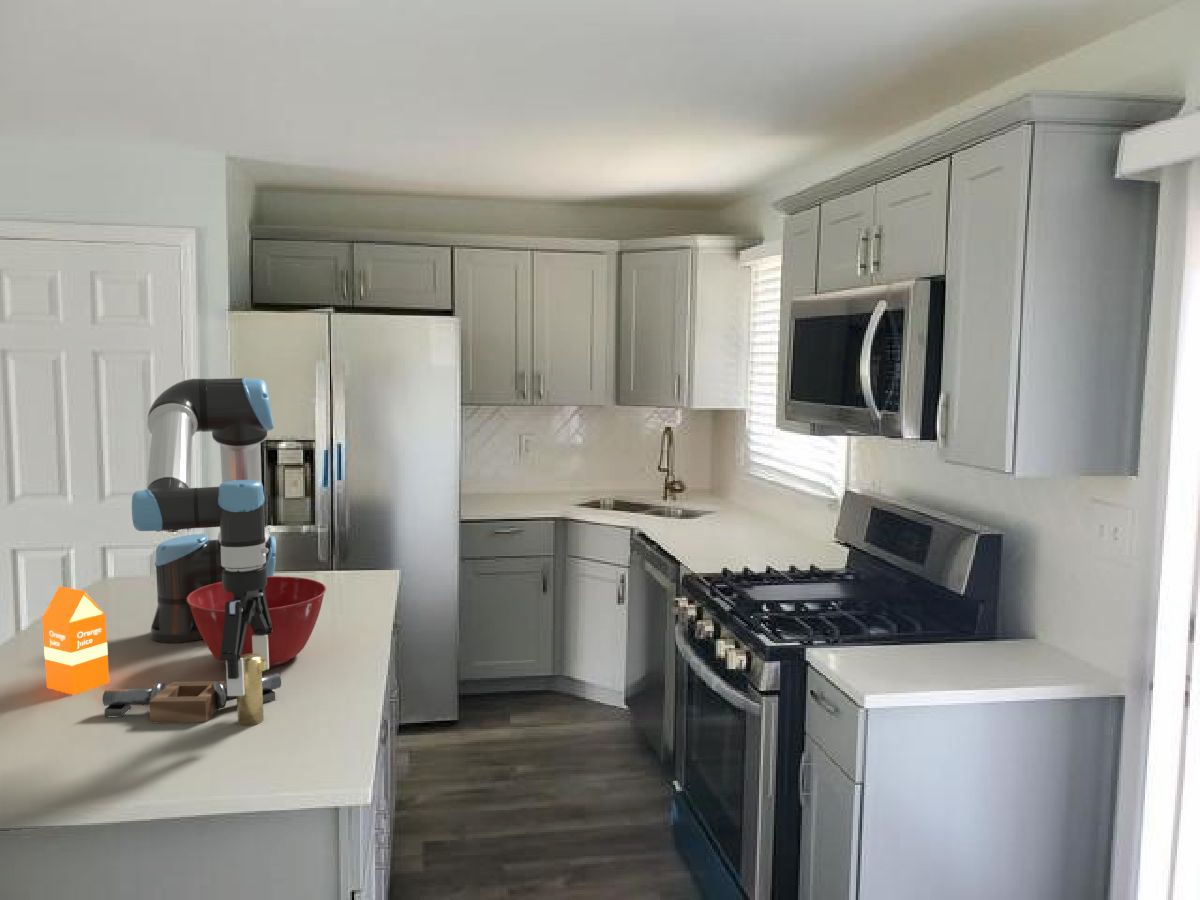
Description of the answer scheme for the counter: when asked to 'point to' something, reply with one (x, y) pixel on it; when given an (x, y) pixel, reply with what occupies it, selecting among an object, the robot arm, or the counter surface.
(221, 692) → the shaft
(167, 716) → the coupling block
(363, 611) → the counter surface
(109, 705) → the shaft
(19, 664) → the counter surface
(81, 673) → the orange juice
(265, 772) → the counter surface
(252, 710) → the joint pin
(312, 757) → the counter surface
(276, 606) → the mixing bowl
